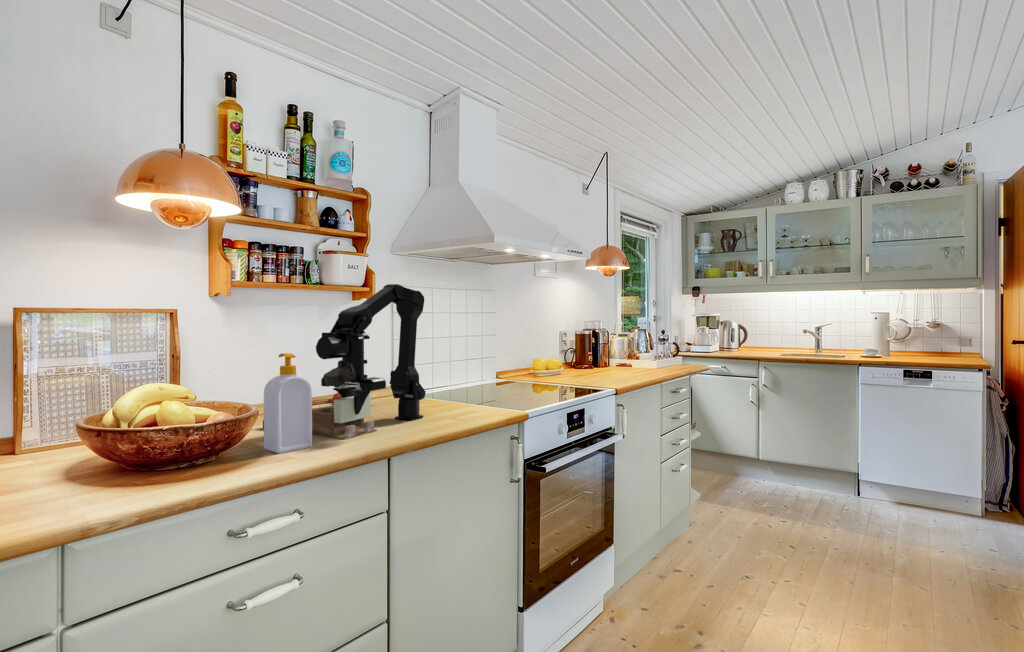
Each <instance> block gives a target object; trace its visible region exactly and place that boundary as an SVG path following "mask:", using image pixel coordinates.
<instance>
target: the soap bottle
mask: <svg viewBox="0 0 1024 652" xmlns="http://www.w3.org/2000/svg"><path fill="white" fill-rule="evenodd" d="M283 357H284V365H279V375H277V376H274V377H273V378H271V379H270V380H268V382H267V383H266V384H265V385H264V389H263V420H264V428H263V448H264V450H266V451H270V452H271V453H275V454H279V455H280V454H284V453H289V452H293V451H299V450H302V449H304V450H305V449H307V448H308V447H309V448H311V447H312V446H313V434H312V410H313V389H312V385H311V383H310V382H309V381H308V380H307V379H305V378H303V377H300V376H298V375H297V366H296V365H294V364H293V365H292V359H293V358H296V355H295V354H293V353H292V352H291V353H290V352H289V353H288V352H287V353H280V354H278V358H283Z"/></svg>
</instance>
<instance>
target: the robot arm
mask: <svg viewBox="0 0 1024 652" xmlns="http://www.w3.org/2000/svg"><path fill="white" fill-rule="evenodd" d="M391 303H392V304H394V305H395V307H396V312H397V315H398V316H399V318H400V328H399V343H398V345H399V346H398V358H397V360H398V362H397V366H396V368H395V369H394V370H391V371H390V381H389V385H390V389H391V392H392V397H393V399H398V404H397V413H398V414H397V415H396V416H395V417H394V419H397V420H405V421H413V420H417V419H420V418H424V415H423V414H420V401H422V400H423V399H425V397H426V393H427V392H426V390H425V388H424V387H423V386H422V385H421V384H420V374H419V372H418V370H417V369H416V365H415V363H416V362H415V361H416V346H417V341H416V340H417V327H418V320H419V318H420V316H421V315H422V313H423V311H424V306H425V296H424V294H423V293H422V292H421V291H420V290H414V289H411V288H408V287H405V286H403V285H401V284H398V283H394V284H393V283H392V284H391V283H388V284H385V285H384V286H383V287H382V289H381V288H380V290H379V291H377V292H376V293H374V294H373V295H372V296H370V297H369V298H367V299H366V300H364V301H363V302H362V303H361V304H358V305H356V306H355V305H354V306H352V307H347V308H346V309H344V310H342V311H340V312H339V313H338V315H337V317H338V318H337V319H336V321H335V323H334V325H333V326H332V328H331V330H330V331H329V332H322V333H321V337H320V338H319V339H317V340H318V341H317V343H316V345H315V352H316V354H317V357H319V358H320V359H322V360H332V359H340V358H341V360H338V362H337V366H336V367H334V368H332V369H331V370H328V372H325V373H324V374H323V377H322V378H320V380H321V381H320V383H321V384H320V385H321V387H329V388H330V387H333V388H332V389H333V391H336V393H339V394H340V395H341V397H342V398H346V397H351V396H354V410H355V414H356V415H357V414H359V413H360V411H361V408H362V406H363V404H364V402H365V400H366V398H367V396H368V395H370V393H371V392H373V391H378V390H384V389H387V381H386V379H385V378H384V377H375V376H373V377H368V374H365V365H366V364H368V359H365V340H369V339H370V335H369V334H367V333H366V332H365V330H366V329H367V328H368V327H369V326H370V325H371V324H372V322H373V318H374V317H375V316H376V315H377V314H378V313H380V312H381V311H382V310H383V309H385V308H386V307H388V305H390V304H391Z"/></svg>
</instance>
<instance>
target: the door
mask: <svg viewBox="0 0 1024 652" xmlns="http://www.w3.org/2000/svg"><path fill="white" fill-rule="evenodd" d="M371 398H372V395H371V394H369V395H368V396H367V398H366V400H365V402H364V404H363V406H362V408H361V411H360V413H359V414H357V415H356V414H355V410H354V396H351V397H346V398H341V399H336V400H334V423H345V422H349V421H353V420H357V419H361V418H364V419H365V418H369V417H371V416H372V412H371V411H372V409H371V407H372V405H371V403H372V401H371Z"/></svg>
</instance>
